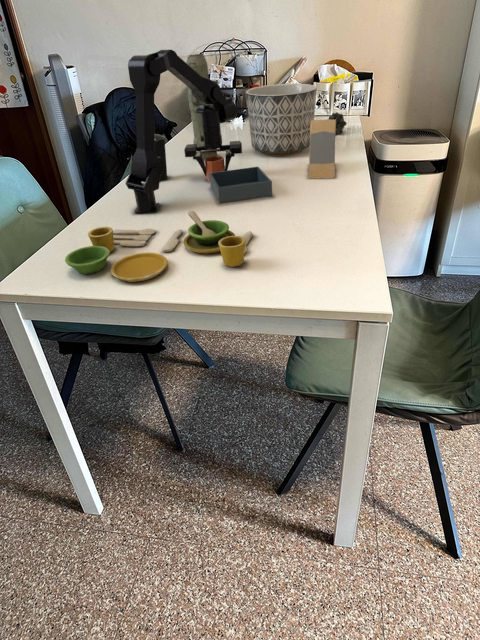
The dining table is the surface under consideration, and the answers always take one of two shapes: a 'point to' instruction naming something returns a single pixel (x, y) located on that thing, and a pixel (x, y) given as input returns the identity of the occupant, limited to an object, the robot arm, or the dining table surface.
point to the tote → (240, 185)
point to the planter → (281, 117)
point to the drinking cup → (161, 153)
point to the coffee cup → (214, 165)
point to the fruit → (338, 122)
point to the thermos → (201, 68)
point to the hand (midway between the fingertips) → (216, 175)
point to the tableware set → (149, 265)
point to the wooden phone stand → (322, 149)
